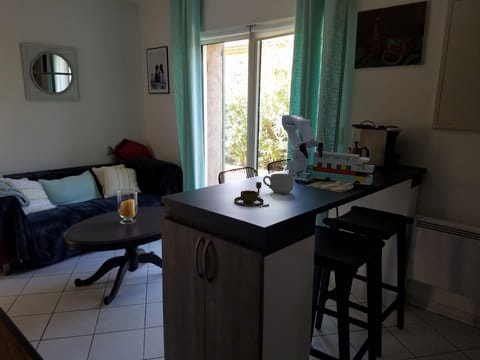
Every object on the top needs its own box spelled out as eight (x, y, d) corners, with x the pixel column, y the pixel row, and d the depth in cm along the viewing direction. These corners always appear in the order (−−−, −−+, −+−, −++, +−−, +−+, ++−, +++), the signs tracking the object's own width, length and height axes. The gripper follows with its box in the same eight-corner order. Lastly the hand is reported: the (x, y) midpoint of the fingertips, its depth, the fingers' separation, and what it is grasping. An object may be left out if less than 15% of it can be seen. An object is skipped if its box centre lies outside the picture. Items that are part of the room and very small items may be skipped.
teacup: (294, 191, 163) (295, 174, 161) (291, 197, 153) (292, 179, 151) (265, 188, 167) (266, 172, 165) (260, 194, 156) (261, 176, 155)
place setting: (223, 201, 145) (223, 187, 143) (257, 194, 158) (257, 181, 157) (253, 211, 132) (253, 196, 131) (287, 203, 145) (288, 189, 144)
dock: (305, 187, 176) (305, 180, 175) (318, 183, 186) (318, 176, 185) (341, 194, 164) (342, 186, 163) (353, 189, 175) (353, 182, 174)
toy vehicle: (370, 187, 176) (373, 158, 173) (311, 180, 190) (313, 152, 186) (372, 184, 183) (375, 156, 180) (315, 177, 197) (317, 150, 194)
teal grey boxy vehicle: (294, 181, 183) (294, 171, 182) (300, 180, 188) (301, 170, 187) (306, 184, 179) (307, 173, 178) (312, 182, 184) (313, 172, 183)
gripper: (296, 132, 184) (302, 152, 176) (323, 131, 186) (330, 151, 178) (294, 141, 190) (299, 161, 182) (319, 140, 191) (326, 159, 184)
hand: (314, 156), depth 180 cm, fingers open, 7 cm apart
